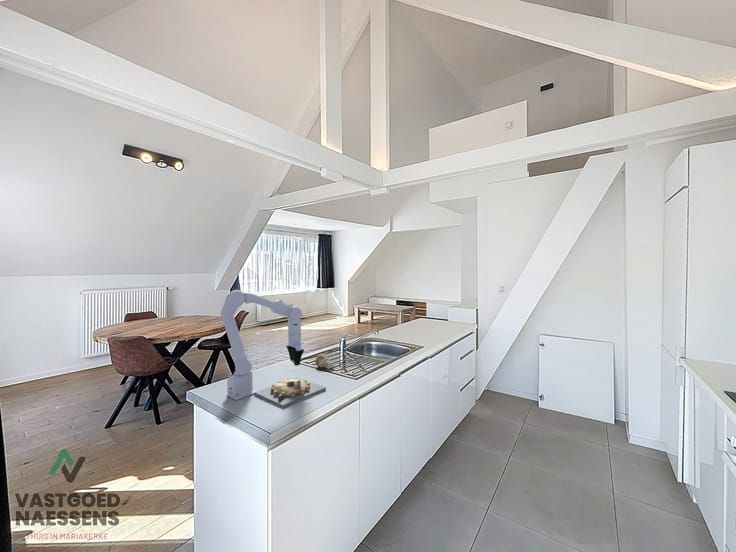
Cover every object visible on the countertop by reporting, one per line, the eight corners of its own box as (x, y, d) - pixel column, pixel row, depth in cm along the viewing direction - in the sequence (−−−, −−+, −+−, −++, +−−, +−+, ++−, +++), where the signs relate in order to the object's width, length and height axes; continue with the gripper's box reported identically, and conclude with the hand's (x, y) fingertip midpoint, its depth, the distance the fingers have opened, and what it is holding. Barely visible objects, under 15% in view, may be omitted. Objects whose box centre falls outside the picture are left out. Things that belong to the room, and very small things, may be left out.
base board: (283, 408, 117) (283, 400, 116) (254, 395, 129) (254, 388, 129) (325, 390, 134) (325, 383, 134) (296, 380, 146) (296, 373, 146)
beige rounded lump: (328, 372, 158) (318, 354, 159) (319, 376, 165) (311, 359, 166) (338, 365, 163) (329, 348, 164) (330, 369, 170) (321, 353, 171)
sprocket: (286, 400, 120) (286, 388, 120) (263, 390, 130) (262, 379, 130) (317, 387, 133) (317, 377, 132) (294, 379, 143) (294, 369, 143)
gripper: (307, 335, 135) (308, 365, 135) (299, 329, 148) (299, 357, 148) (291, 336, 132) (292, 368, 132) (284, 330, 144) (284, 359, 145)
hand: (295, 362), depth 140 cm, fingers open, 7 cm apart
